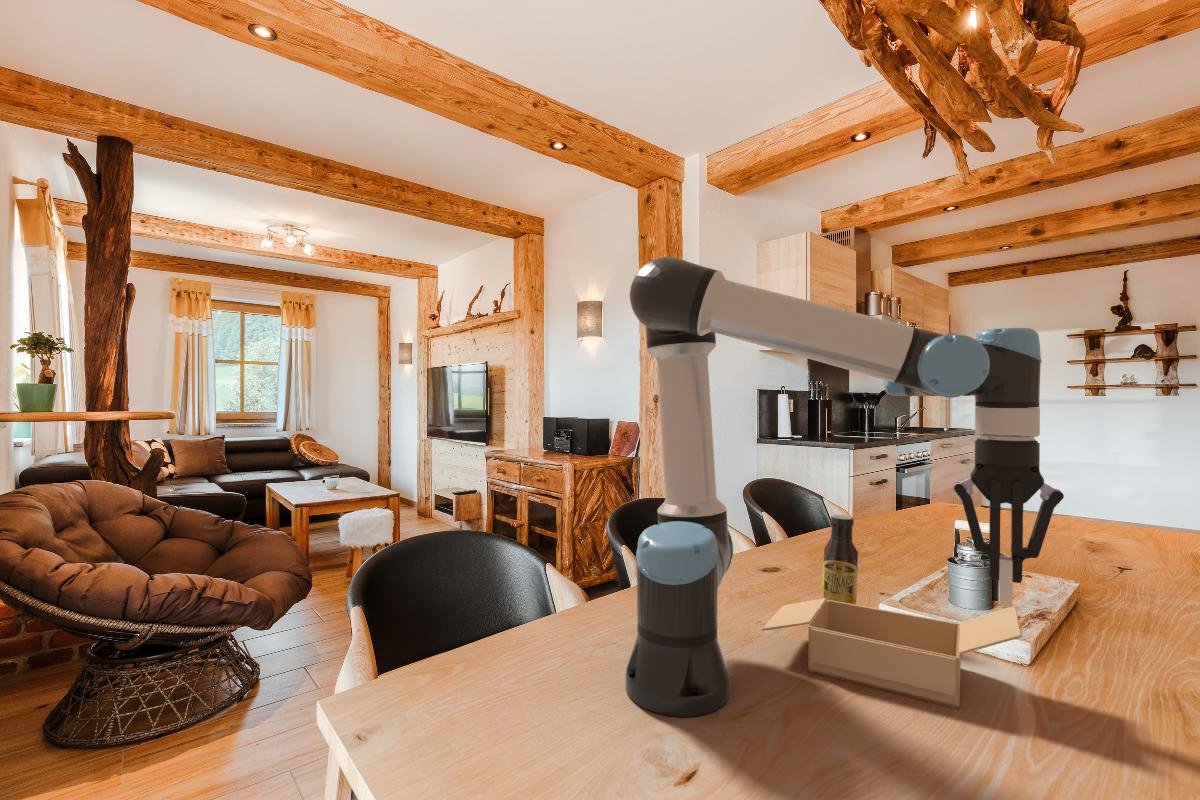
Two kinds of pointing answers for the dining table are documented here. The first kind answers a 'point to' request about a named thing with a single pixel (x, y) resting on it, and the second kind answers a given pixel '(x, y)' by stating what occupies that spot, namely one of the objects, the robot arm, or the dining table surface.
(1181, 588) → the dining table surface
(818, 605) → the flap inner
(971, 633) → the flap outer
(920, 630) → the carton
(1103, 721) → the dining table surface
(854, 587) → the sauce bottle
